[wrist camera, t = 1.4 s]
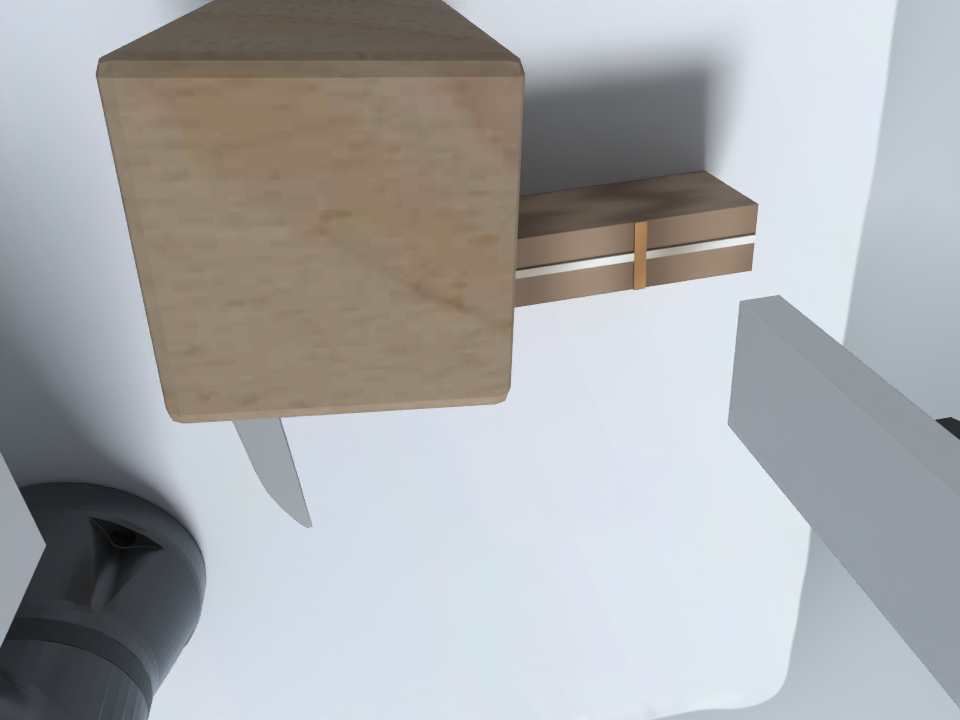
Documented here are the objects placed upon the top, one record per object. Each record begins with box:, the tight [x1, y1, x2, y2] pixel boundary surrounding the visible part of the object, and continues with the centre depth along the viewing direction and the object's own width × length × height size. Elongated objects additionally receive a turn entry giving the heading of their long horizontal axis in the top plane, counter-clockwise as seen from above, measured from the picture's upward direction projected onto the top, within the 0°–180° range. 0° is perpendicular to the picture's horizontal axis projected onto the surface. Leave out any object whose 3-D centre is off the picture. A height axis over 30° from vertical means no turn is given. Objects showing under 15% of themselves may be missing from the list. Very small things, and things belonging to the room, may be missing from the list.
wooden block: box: [96, 0, 525, 423], centre depth 29 cm, size 10×10×20 cm
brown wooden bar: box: [514, 171, 758, 308], centre depth 39 cm, size 24×4×6 cm, turn 95°
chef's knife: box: [232, 418, 312, 528], centre depth 45 cm, size 19×1×3 cm
